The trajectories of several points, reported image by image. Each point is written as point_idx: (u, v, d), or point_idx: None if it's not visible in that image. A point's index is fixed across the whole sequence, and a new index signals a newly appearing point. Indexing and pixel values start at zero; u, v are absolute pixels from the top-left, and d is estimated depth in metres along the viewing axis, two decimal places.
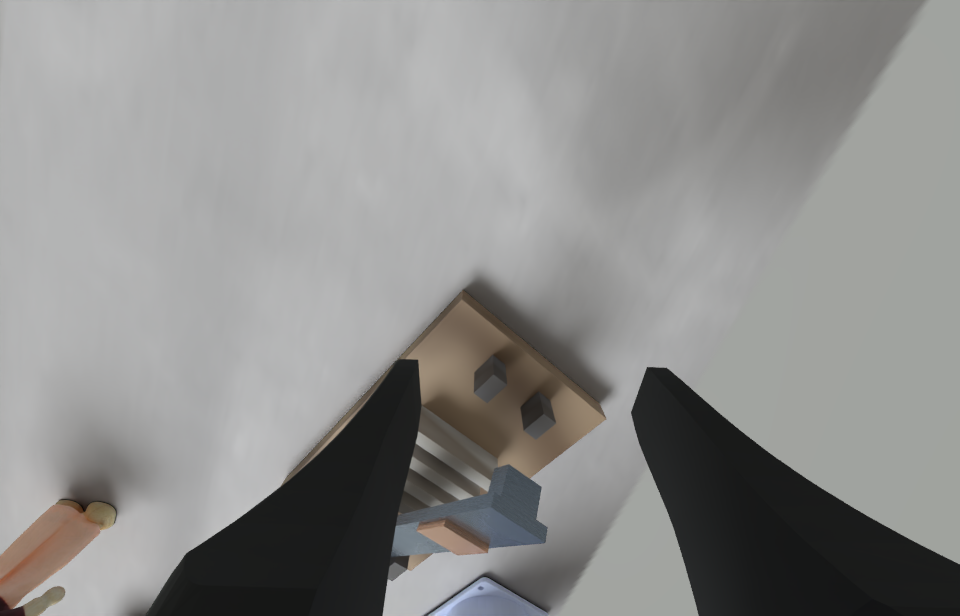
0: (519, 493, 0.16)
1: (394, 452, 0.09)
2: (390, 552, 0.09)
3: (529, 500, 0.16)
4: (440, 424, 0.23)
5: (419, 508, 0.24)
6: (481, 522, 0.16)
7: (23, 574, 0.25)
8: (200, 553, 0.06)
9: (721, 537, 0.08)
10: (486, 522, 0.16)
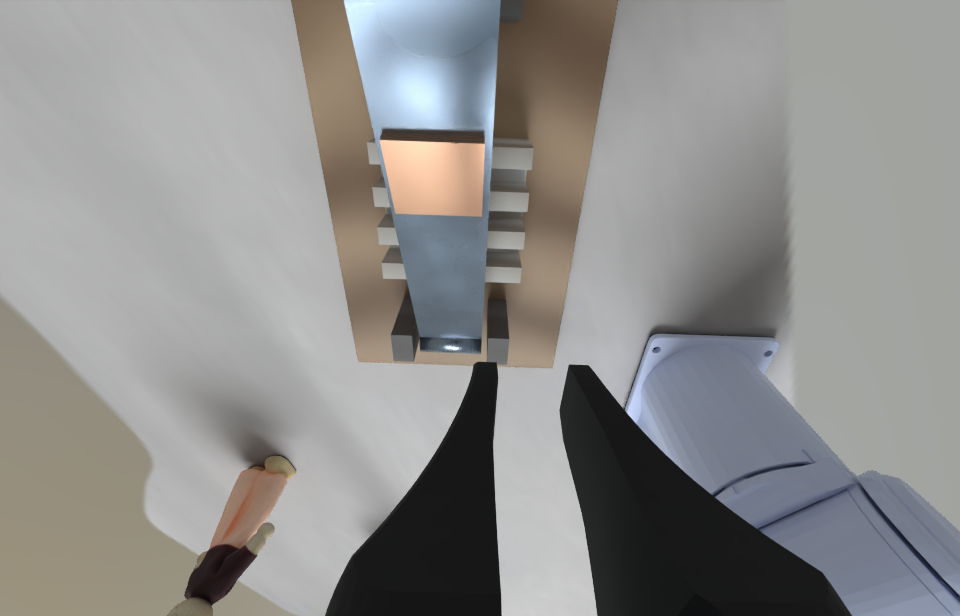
0: None
1: None
2: None
3: None
4: None
5: None
6: (398, 57, 0.08)
7: (240, 525, 0.27)
8: (365, 558, 0.06)
9: (611, 534, 0.08)
10: (401, 45, 0.08)
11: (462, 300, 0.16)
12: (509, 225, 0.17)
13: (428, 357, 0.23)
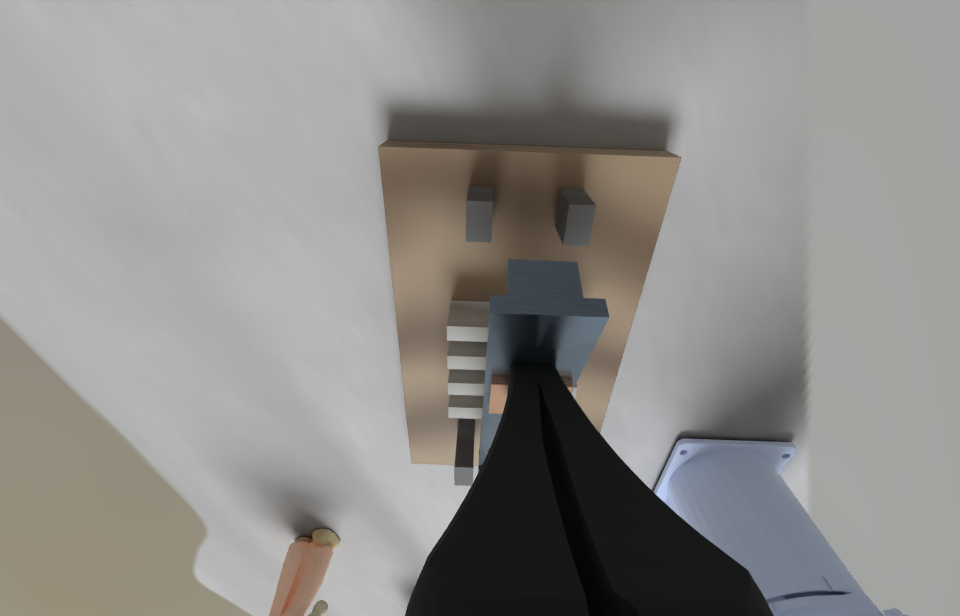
0: (540, 282, 0.10)
1: None
2: None
3: (562, 283, 0.10)
4: (482, 307, 0.18)
5: None
6: (518, 348, 0.11)
7: (295, 601, 0.30)
8: (442, 560, 0.06)
9: None
10: (522, 344, 0.11)
11: None
12: None
13: (475, 460, 0.25)
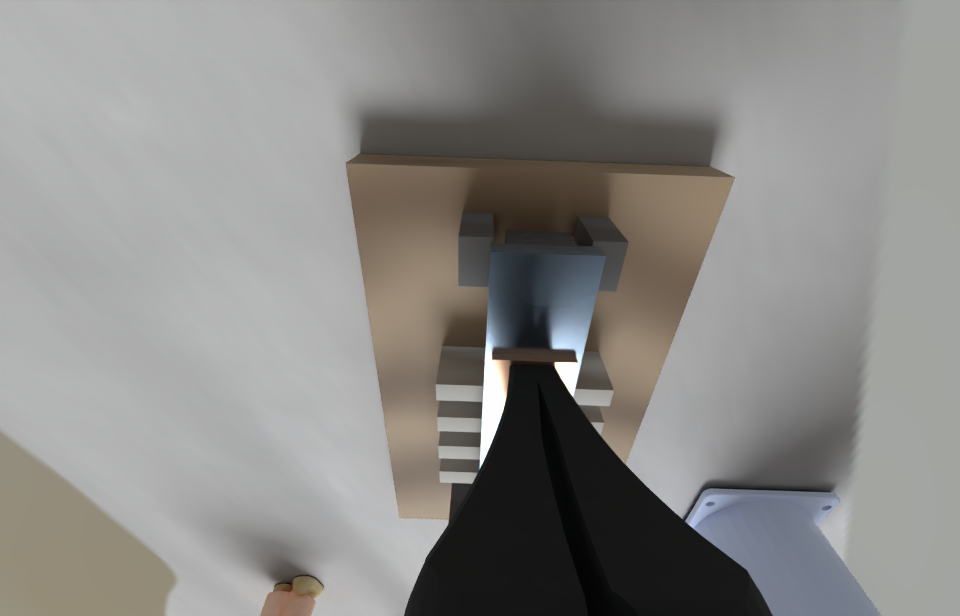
0: (537, 241, 0.11)
1: None
2: None
3: (558, 242, 0.11)
4: (479, 355, 0.15)
5: None
6: (519, 306, 0.11)
7: None
8: (441, 560, 0.06)
9: None
10: (523, 299, 0.11)
11: None
12: None
13: None
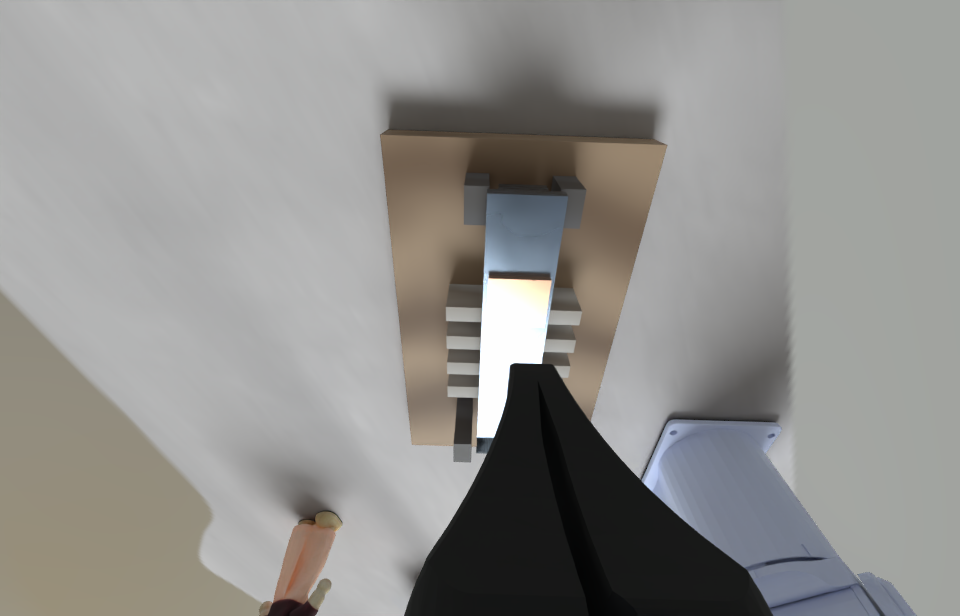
0: (521, 190, 0.15)
1: None
2: None
3: (536, 191, 0.15)
4: (479, 289, 0.19)
5: None
6: (508, 236, 0.15)
7: (299, 579, 0.31)
8: (441, 560, 0.06)
9: None
10: (510, 231, 0.15)
11: None
12: (555, 356, 0.20)
13: (474, 441, 0.26)
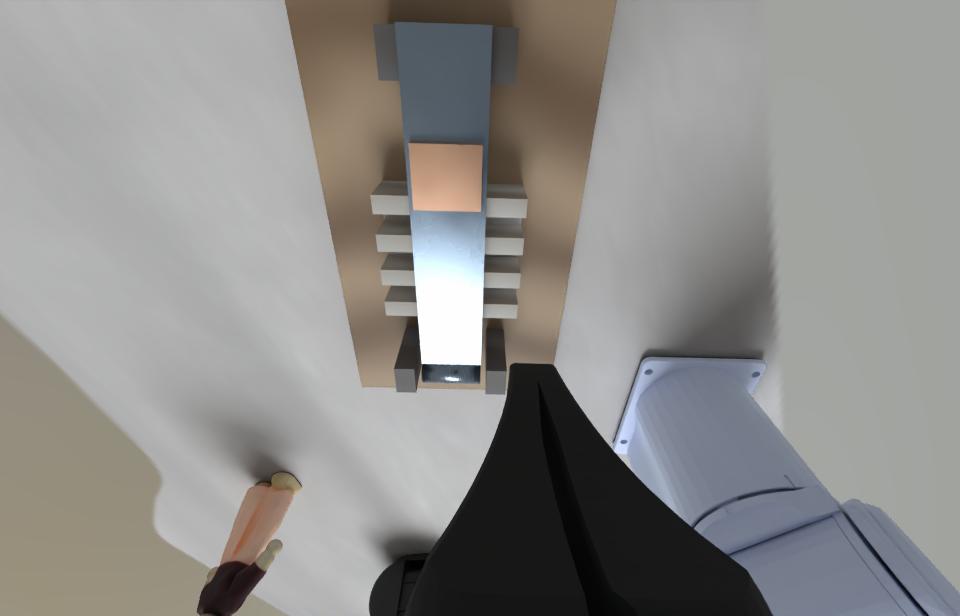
0: None
1: None
2: None
3: None
4: None
5: None
6: (426, 85, 0.13)
7: (249, 541, 0.28)
8: (441, 560, 0.06)
9: None
10: (428, 77, 0.12)
11: (463, 312, 0.18)
12: (505, 265, 0.18)
13: None
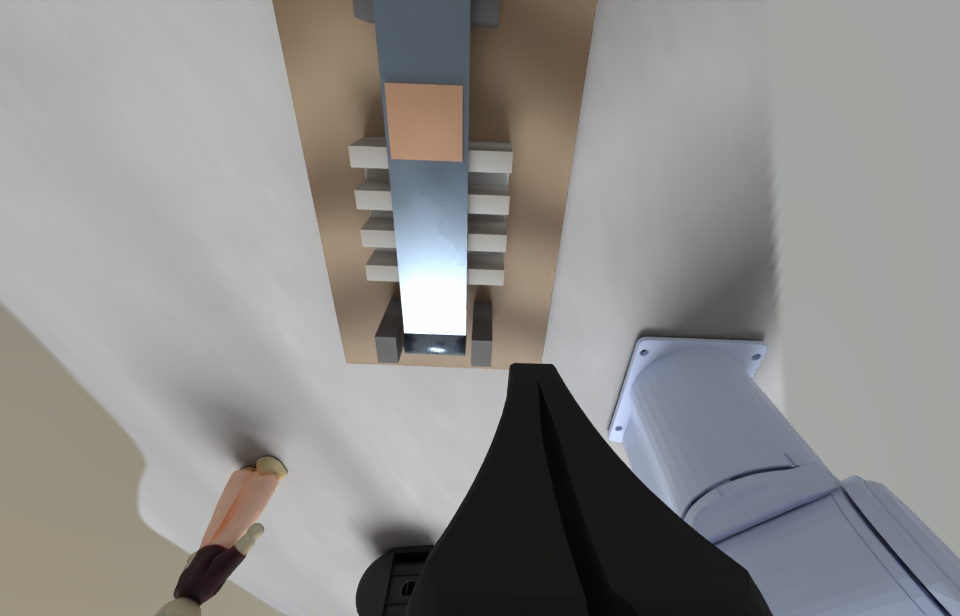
0: None
1: None
2: None
3: None
4: None
5: None
6: (402, 18, 0.12)
7: (230, 525, 0.28)
8: (441, 560, 0.06)
9: None
10: (404, 8, 0.12)
11: (446, 276, 0.17)
12: (492, 228, 0.17)
13: (416, 359, 0.23)
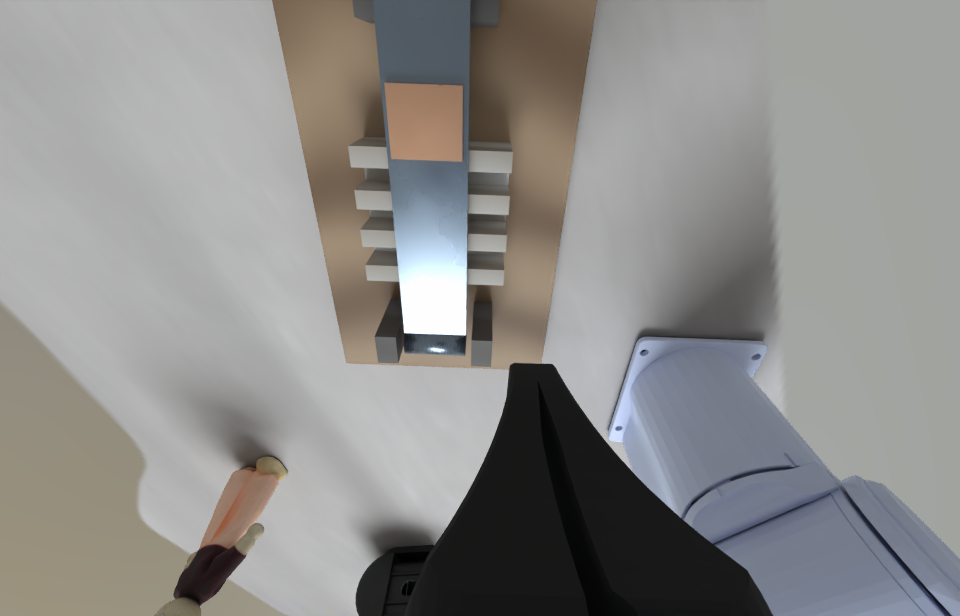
0: None
1: None
2: None
3: None
4: None
5: None
6: (402, 18, 0.12)
7: (230, 525, 0.28)
8: (441, 560, 0.06)
9: None
10: (404, 8, 0.12)
11: (446, 276, 0.17)
12: (492, 228, 0.17)
13: (416, 359, 0.23)
